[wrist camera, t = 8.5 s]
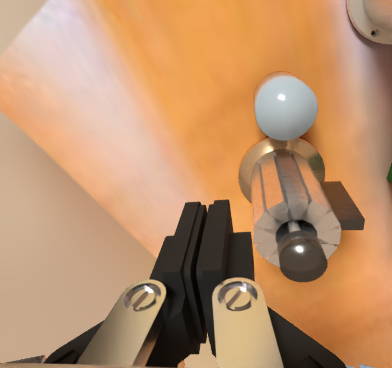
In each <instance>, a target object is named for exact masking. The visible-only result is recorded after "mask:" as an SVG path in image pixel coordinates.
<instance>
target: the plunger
mask: <svg viewBox="0 0 392 368" xmlns="http://www.w3.org/2000/svg"><path fill="white" fill-rule="evenodd" d="M287 224H288V228H289V233H288V234H286V235H284V236H283V237H282V238H281V239H280V241H279V243H278V247H277V250H278V256H279V263H280V268H281V271H282V273H283V274H284V275H285V276H286V277H287V278H289V279H291V280H293V281H297V282H309V281H313V280H315V279H317V278H319V277H320V276H322V275H323V273H324V272H325V271H326V268H327V259H326V256H325V253H324V251H323V248H322V245H321V242H320V240H319V239H318V237H317V236H315V235H314V234H312V233H310V232H308V231H301V230H300V228H299V224H298V221H297V219H296V220H289V221H287Z"/></svg>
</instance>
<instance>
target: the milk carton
mask: <svg viewBox="0 0 392 368" xmlns="http://www.w3.org/2000/svg"><path fill="white" fill-rule="evenodd" d="M387 180H389V181H390V182H391V183H392V164H391V167H390V170H389V173H388V176H387Z"/></svg>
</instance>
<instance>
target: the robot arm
mask: <svg viewBox="0 0 392 368" xmlns="http://www.w3.org/2000/svg"><path fill="white" fill-rule="evenodd" d="M346 1H347V10H348V14H349V17H350V19H351V22H352V24H353V26H354V27H355V28H356V29H357V31H358V32H359V33H360V34H362V35H363V36H364V37H365V38H367V39H369V40H371V41H373V42H377V43H381V44H390V45H392V0H346ZM372 31H374V34H373V35H371V32H372ZM207 332H208V337H209V342H210V344H211V350H212V354H213V355H214V356H215V357H216V359H217V368H355V367H351V366H346V365H345V364H344V363H343V362H342V361H341V360H340V359H339V358H338V357H337V356H336V355H335V354H333V353H332V352H330V351H329V350H328V349H326V348H325V347H323V346H322V345H321V344H319V343H318V342H316V341H315V340H314V339H312V338H311V337H309V336H308V335H307V334H305V333H304V332H302V331H301V330H300V329H298V328H297V327H296V326H294V325H293V324H291V323H290V322H289V321H287V320H286V319H284V318H283V317H282V316H280V315H279V314H277V313H276V312H275V311H273V310H272V309H270V308H269V307H268V306H267V305H266V301H265V298H264V294H263V291H262V289H261V287H260V286H259V285H258V284H257V283H256V282H255V280H254V260H253V248H252V238H251V232H238V233H233V226H232V218H231V210H230V203H229V200H215V201H214V204H211V205H209V208H208V213H207V208H206V205H201V203H200V202H187V203H185V206H184V209H183V211H182V214H181V217H180V220H179V223H178V226H177V229H176V232H175V235H174V236H167V237H166V238H165V240H164V242H163V245H162V248H161V250H160V253H159V255H158V258H157V261H156V263H155V266H154V269H153V271H152V274H151V276H150V279H149V280H143V281H139V282H136V283H134V284H132V285H131V286H130V287H128V288H127V289H126V290H125V291H124V292H123V293H122V294H121V296H120V297H119V299H118V300H117V302H116V303H115V305H114V307H113V308H112V310H111V311H110V313H109V314H108V316H107V317H106V319H105V320H104V321H102V322H101V323H99V324H97V325H96V326H94V327H92V328H91V329H89V330H88V331H86V332H84V333H83V334H81V335H80V336H78V337H77V338H75V339H73V340H71V341H70V342H68V343H67V344H65V345H63V346H62V347H60V348H59V349H57V350H56V351H55V352H53V353H52V354H51V355H50V356H49V357H48V358H47V359H46V357H45V355H41V356H36V357H31V358H26V359H21V360H16V361H11V362H6V363H0V368H184V366H185V363H184V359H185V358H186V357H188V356H189V355H190V354H199V350H200V344H201V343H206V339H207ZM359 368H375V367H371V366H367V365H362V364H359Z"/></svg>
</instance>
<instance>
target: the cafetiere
mask: <svg viewBox="0 0 392 368" xmlns="http://www.w3.org/2000/svg"><path fill="white" fill-rule="evenodd" d="M324 177H325V168H324V163H323V160H322V158H321V156H320V154H319V153H318V151H317V150H316V149H315V147H314V146H313V145H311V144H310V143H309V142H307V141H306V140H304V139H302V138H299V137H298V138H295V139H292V140H286V141H284V140H276V139H273V138H271V137H267V138H265V139H263V140H261V141H259V142H257V143H256V144H254V145H253V146H252V147H251V148H250V149H249V150H248V151H247V152H246V154H245V155H244V157H243V159H242V161H241V164H240V167H239V184H240V187H241V190H242V192H243V194H244V195H245V197H246V198H247V199H248V200H249V201H250V202H251V203H252V217H253V238H254V244H255V248H256V249H257V250H258V252H259V253H260V255H261V256H262V257H263V259H265V258H266V261H267V262H269V263H271V264H274V265H276V266H278V267H280V263H279V256H278V250H277V247H278V243H279V241H280V239H281V238H282V237H283V236H284V235H286V234H288V233H289V228H288V224H287V221H289V220H296V219H297V221H298V224H299V228H300V230H301V231H308V232H310V233H312V234H314V235H315V236H317V237H318V239H319V240H320V242H321V245H322V248H323V251H324V253H325V256H326V259H328V258H329V257H330V256H331V255H332V254H333V253H334V251H335V250H336V249H337V248H338V246H337V244H340V236H341V230H363V228H364V222H365V219H364V217H363V216H362V214H361V213H360V211H359V210H358V208H357V207H356V205H355V203H354V202H353V200H352V199H351V197H350V196H349V194H348V193H347V191H346V190H345V188H344V186H343V185H342V183H341V182H340V181H338V182H324Z"/></svg>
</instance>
